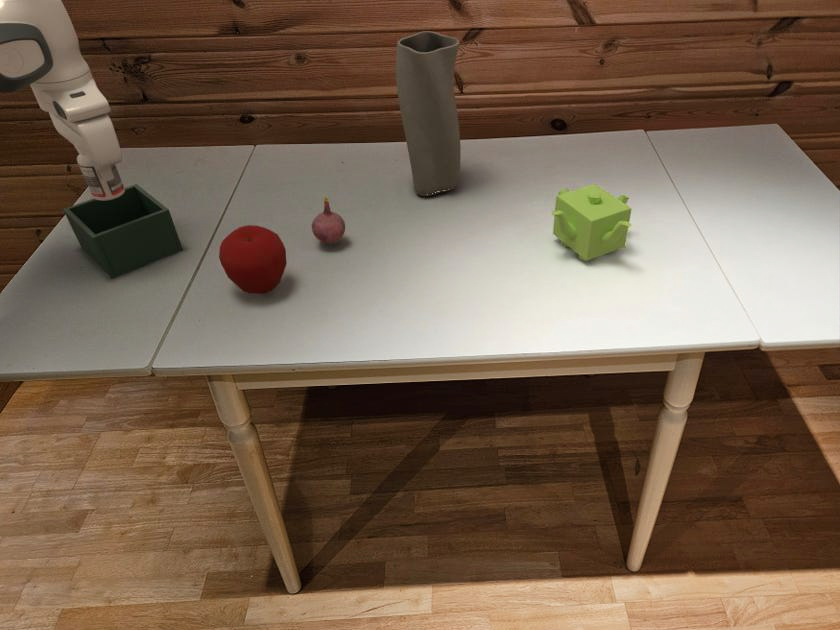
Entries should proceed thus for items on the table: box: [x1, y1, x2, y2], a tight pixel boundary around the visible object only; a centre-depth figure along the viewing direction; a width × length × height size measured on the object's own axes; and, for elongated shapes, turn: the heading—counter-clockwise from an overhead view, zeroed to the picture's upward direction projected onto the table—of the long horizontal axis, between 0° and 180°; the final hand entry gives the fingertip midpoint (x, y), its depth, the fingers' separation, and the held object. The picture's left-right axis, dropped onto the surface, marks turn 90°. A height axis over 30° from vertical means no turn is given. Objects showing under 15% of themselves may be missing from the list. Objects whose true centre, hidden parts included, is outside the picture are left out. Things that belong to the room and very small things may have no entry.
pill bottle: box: [74, 145, 126, 201], centre depth 113 cm, size 5×5×10 cm
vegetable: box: [311, 195, 346, 245], centre depth 122 cm, size 6×6×10 cm
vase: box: [395, 30, 462, 197], centre depth 132 cm, size 12×12×30 cm
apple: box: [218, 224, 287, 295], centre depth 111 cm, size 11×11×12 cm
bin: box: [62, 183, 184, 280], centre depth 121 cm, size 14×14×9 cm
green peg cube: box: [550, 183, 632, 262], centre depth 122 cm, size 15×14×11 cm
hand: (100, 172), depth 113 cm, fingers closed on pill bottle, 5 cm apart
